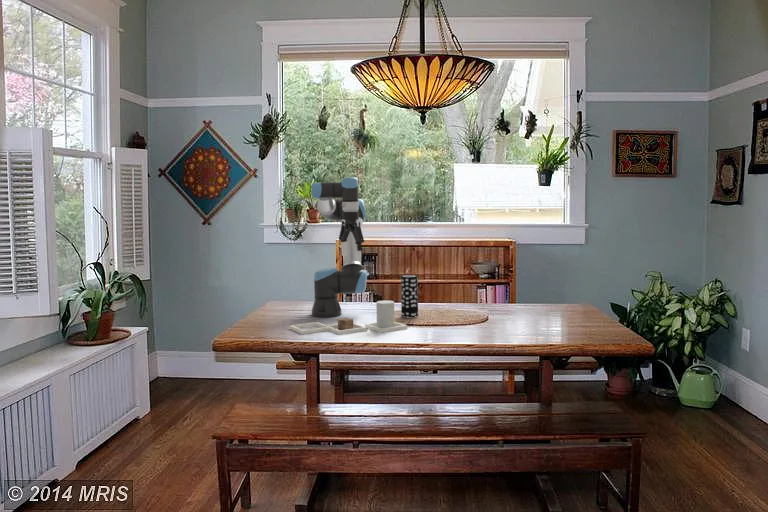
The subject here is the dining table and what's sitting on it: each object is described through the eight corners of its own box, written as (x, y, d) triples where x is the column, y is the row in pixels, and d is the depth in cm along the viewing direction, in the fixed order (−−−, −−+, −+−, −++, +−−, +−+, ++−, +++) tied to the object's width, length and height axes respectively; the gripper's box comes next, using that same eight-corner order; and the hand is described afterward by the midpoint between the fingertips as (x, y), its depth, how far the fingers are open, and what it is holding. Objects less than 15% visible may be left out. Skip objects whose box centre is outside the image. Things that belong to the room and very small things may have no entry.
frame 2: (324, 329, 308) (324, 325, 308) (352, 325, 315) (352, 322, 315) (339, 334, 296) (338, 331, 296) (366, 330, 303) (366, 327, 303)
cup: (392, 330, 303) (392, 303, 302) (375, 329, 305) (374, 303, 304) (396, 326, 311) (395, 300, 310) (378, 325, 313) (378, 300, 312)
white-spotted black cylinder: (420, 315, 337) (419, 275, 335) (415, 318, 330) (415, 277, 328) (404, 314, 340) (403, 274, 338) (399, 317, 332) (398, 277, 330)
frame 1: (289, 328, 310) (289, 325, 310) (317, 325, 317) (317, 321, 317) (302, 334, 298) (302, 330, 298) (330, 330, 305) (330, 327, 305)
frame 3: (365, 327, 311) (365, 323, 310) (391, 323, 318) (391, 320, 318) (380, 332, 299) (380, 329, 298) (407, 328, 306) (407, 325, 306)
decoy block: (337, 330, 305) (337, 319, 305) (345, 328, 309) (345, 317, 308) (346, 331, 302) (346, 320, 301) (353, 329, 306) (353, 318, 305)
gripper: (331, 210, 322) (332, 255, 324) (356, 212, 301) (357, 259, 303) (345, 210, 326) (346, 254, 328) (370, 211, 304) (371, 258, 307)
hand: (351, 256), depth 315 cm, fingers open, 13 cm apart
